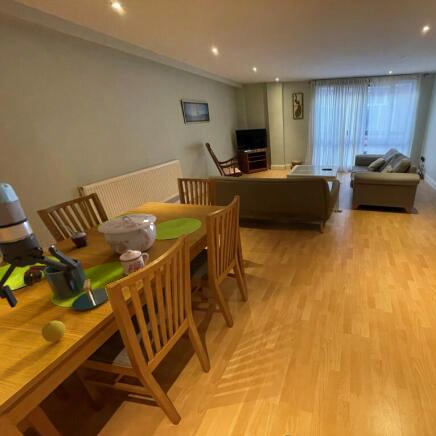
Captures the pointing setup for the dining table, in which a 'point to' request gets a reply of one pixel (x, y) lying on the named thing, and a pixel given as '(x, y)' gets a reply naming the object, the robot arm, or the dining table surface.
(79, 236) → the mate gourd
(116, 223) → the chamber pot
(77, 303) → the pot lid
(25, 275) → the pottery mug
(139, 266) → the teacup with lid
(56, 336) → the lemon
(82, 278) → the blue cylindrical pot
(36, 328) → the dining table surface
